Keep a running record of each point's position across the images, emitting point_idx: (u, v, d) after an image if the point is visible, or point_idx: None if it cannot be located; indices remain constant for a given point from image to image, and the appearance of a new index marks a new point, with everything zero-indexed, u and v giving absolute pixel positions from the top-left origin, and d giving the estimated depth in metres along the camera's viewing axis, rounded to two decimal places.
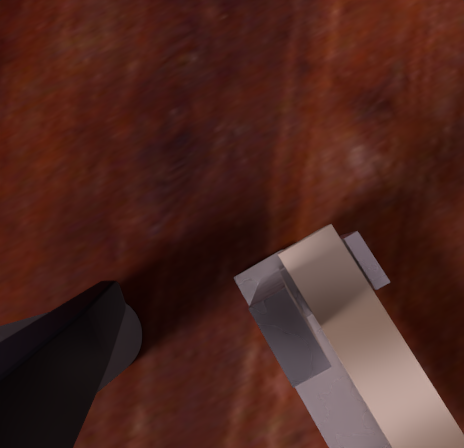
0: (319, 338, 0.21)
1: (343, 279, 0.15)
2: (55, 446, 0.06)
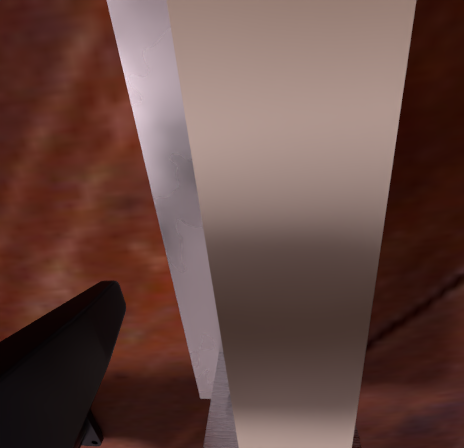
0: None
1: None
2: (55, 446, 0.06)
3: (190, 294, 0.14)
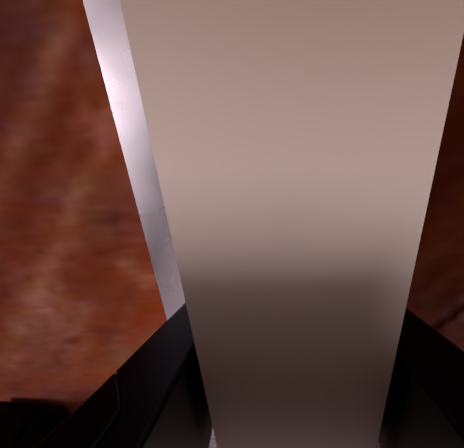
0: None
1: None
2: None
3: None
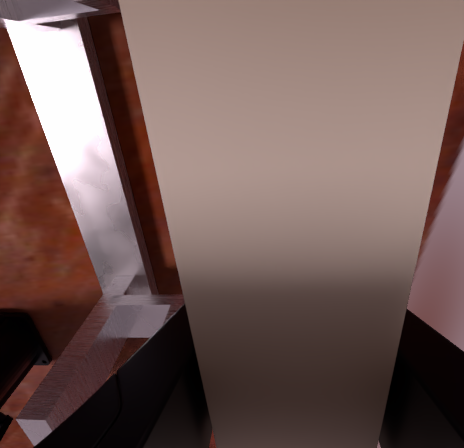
0: (76, 78, 0.17)
1: None
2: None
3: (90, 231, 0.22)
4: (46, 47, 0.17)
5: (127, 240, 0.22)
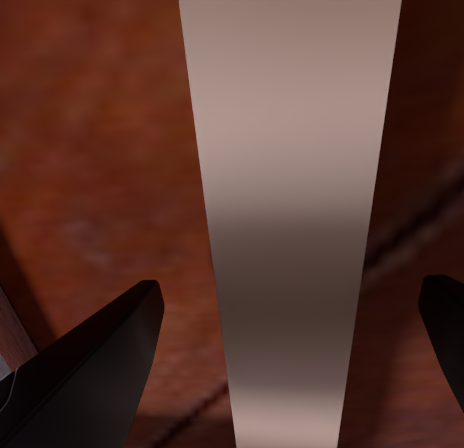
0: None
1: None
2: None
3: None
4: None
5: None
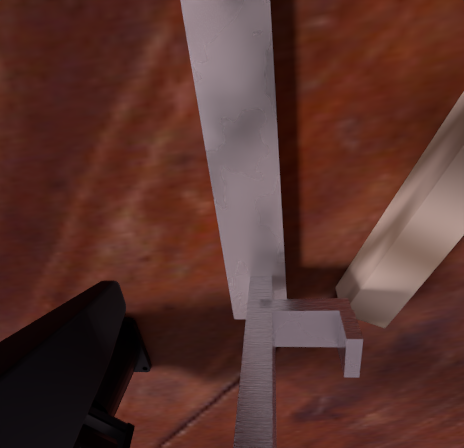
0: (252, 44, 0.14)
1: None
2: (55, 446, 0.06)
3: (229, 227, 0.19)
4: (222, 6, 0.14)
5: (271, 237, 0.19)
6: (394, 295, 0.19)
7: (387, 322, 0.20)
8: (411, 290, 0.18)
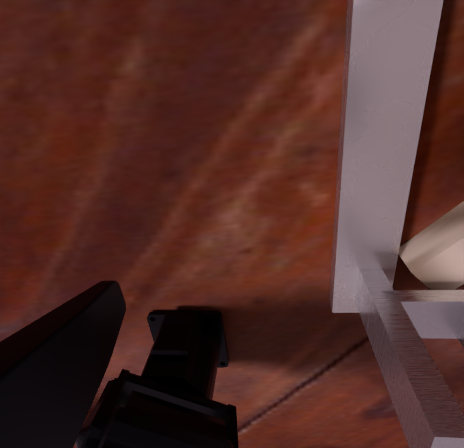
0: (416, 38, 0.15)
1: None
2: (55, 446, 0.06)
3: (350, 219, 0.20)
4: (394, 0, 0.14)
5: (390, 229, 0.20)
6: None
7: None
8: None
